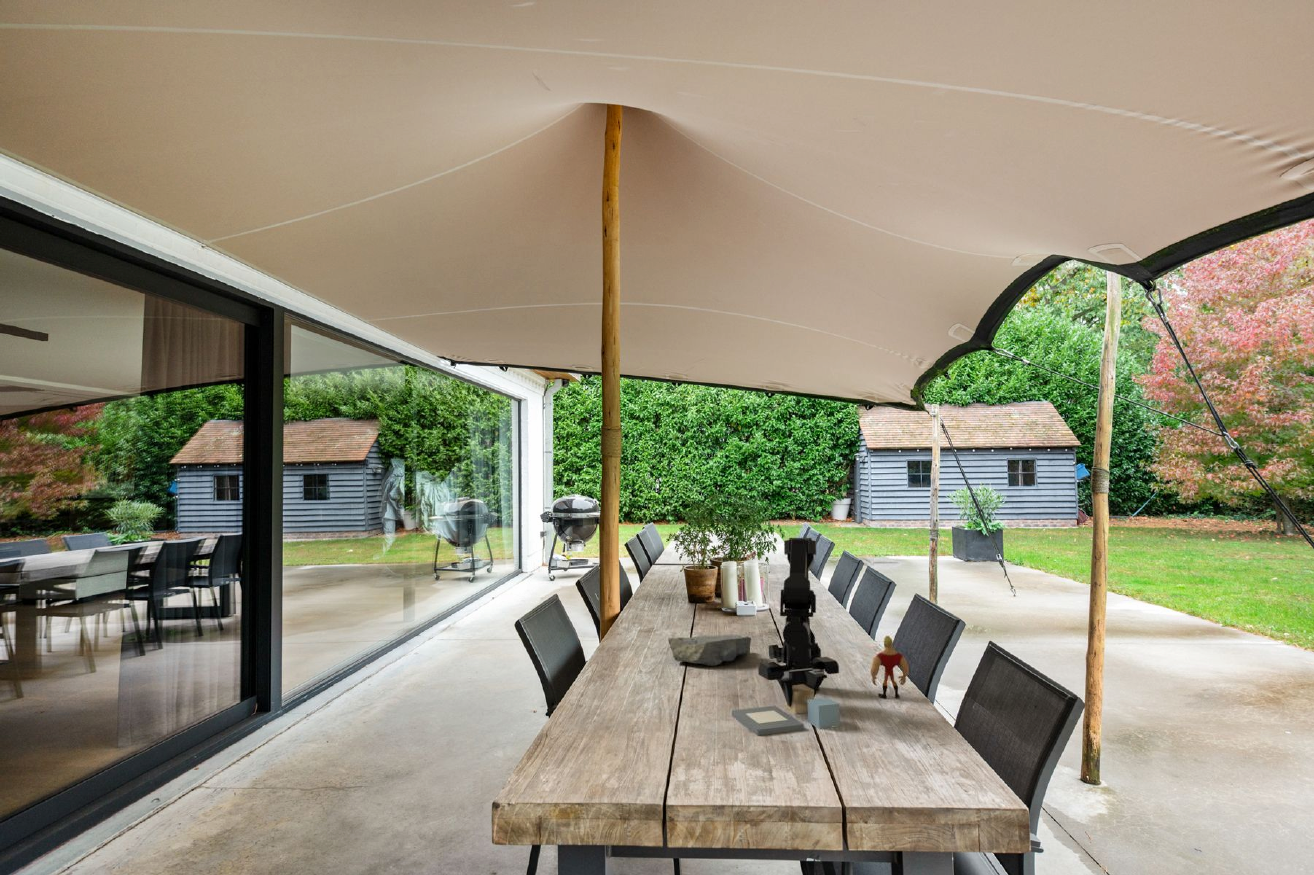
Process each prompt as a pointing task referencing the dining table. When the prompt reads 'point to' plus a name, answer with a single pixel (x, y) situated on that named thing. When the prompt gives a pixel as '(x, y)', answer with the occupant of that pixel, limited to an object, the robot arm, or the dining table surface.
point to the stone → (709, 648)
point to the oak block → (800, 698)
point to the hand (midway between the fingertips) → (799, 705)
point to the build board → (767, 720)
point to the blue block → (823, 712)
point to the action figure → (889, 666)
